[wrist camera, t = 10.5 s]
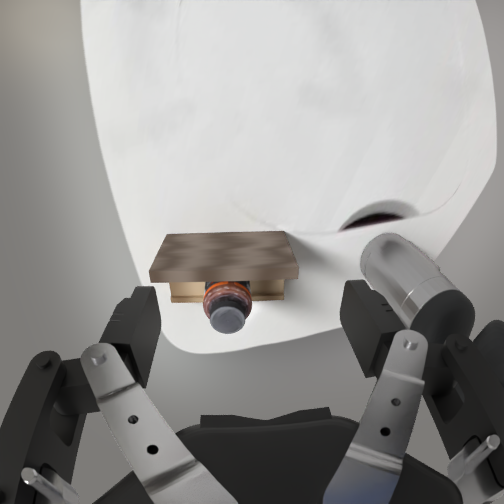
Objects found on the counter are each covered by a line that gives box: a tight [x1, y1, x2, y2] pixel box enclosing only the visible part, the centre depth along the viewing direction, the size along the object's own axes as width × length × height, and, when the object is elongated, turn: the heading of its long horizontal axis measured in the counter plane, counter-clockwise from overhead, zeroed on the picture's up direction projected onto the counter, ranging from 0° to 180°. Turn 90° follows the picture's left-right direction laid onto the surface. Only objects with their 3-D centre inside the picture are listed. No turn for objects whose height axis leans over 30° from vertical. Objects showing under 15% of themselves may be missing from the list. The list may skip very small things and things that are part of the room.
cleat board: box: [149, 231, 299, 303], centre depth 40 cm, size 17×10×11 cm, turn 90°
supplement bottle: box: [203, 281, 252, 334], centre depth 38 cm, size 6×6×11 cm
